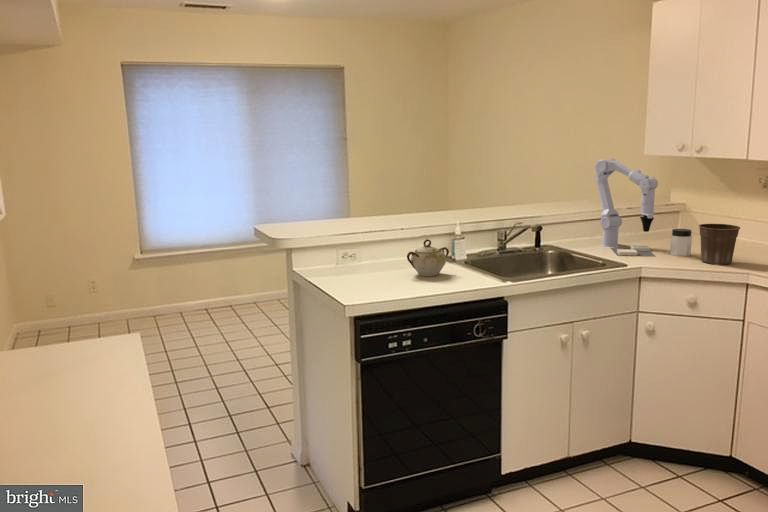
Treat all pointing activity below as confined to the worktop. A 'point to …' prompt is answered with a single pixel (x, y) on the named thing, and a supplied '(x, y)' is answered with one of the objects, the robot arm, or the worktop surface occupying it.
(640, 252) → the mat
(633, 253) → the tile
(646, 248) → the tile
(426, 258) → the sugar bowl
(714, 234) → the plant pot
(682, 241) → the jar
